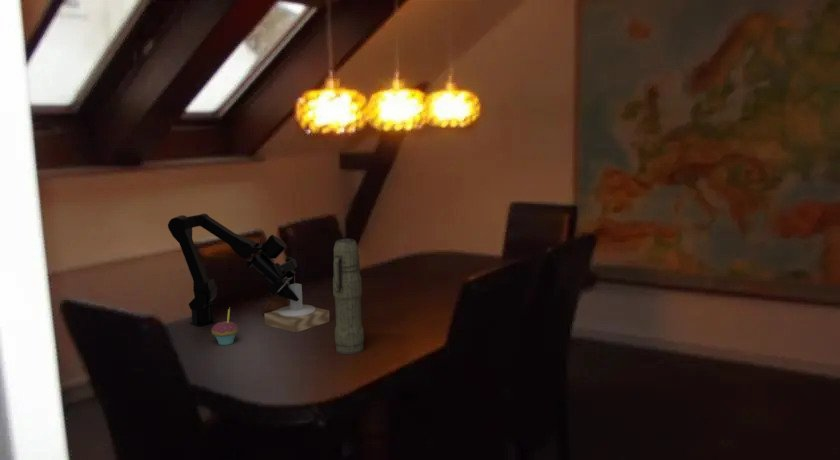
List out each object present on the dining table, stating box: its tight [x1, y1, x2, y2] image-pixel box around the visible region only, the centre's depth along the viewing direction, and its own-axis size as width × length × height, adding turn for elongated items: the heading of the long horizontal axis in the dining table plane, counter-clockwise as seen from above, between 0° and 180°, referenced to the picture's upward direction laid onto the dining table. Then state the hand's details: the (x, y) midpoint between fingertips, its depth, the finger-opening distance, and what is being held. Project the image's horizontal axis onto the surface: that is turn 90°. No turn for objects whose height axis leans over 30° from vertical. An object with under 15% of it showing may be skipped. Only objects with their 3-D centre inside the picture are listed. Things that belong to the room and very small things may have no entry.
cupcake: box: [211, 307, 240, 346], centre depth 241 cm, size 9×8×12 cm
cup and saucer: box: [261, 295, 290, 315], centre depth 275 cm, size 12×12×6 cm
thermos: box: [332, 238, 365, 355], centre depth 230 cm, size 9×12×35 cm
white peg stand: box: [278, 283, 316, 317], centre depth 261 cm, size 13×13×10 cm
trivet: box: [263, 307, 330, 333], centre depth 262 cm, size 16×16×4 cm
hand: (300, 298), depth 261 cm, fingers open, 6 cm apart
